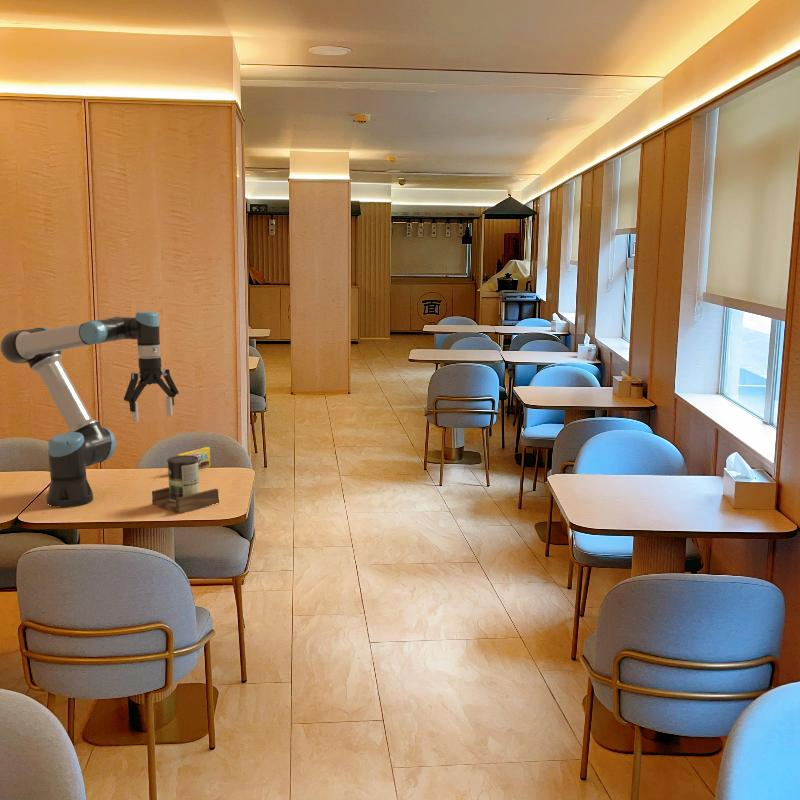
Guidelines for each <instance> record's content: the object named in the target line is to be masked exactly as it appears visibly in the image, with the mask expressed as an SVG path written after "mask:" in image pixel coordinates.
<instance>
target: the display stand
mask: <svg viewBox="0 0 800 800" xmlns="http://www.w3.org/2000/svg"><path fill="white" fill-rule="evenodd" d="M199 492H200V493H196V494H192V495H188V496H184V497H180V498H176V502H172V501H170V493H169V486H168V487H164V488H160V489H155V490H152V491H151V496H152V499H151V502H152V503H151V504H152V506H153V505H155V506H154V507H157V508H160V509H163V510H166V511H170V512H173V513H176V514H178V515H180V514H181V515H182V514H186V513H189V512H192V511H193V512H194V511H196V510H200V508H201V509H203V507H204V508H207V507H206V506H208V507H210V506H209V505H212V504H216V503H219V504H220V498H219V489H217V488H212V489H211V488H210V489H208V490H204V491H199ZM216 505H217V504H216ZM212 506H213V505H212ZM185 512H186V513H185Z"/></svg>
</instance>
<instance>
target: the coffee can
mask: <svg viewBox="0 0 800 800" xmlns="http://www.w3.org/2000/svg"><path fill="white" fill-rule="evenodd" d="M167 470H168V471H167V472H168V487H169V493H170V501H172V502H176V498H180V497H184V496H188V495H192V494H196V493H200V492H201V491H200V476H199V475H200V474H199V471H200V470H199V469H198V457H196V456H190V455H184V456H177V455H176V456H171V457H169V458H167Z"/></svg>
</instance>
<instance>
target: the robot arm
mask: <svg viewBox="0 0 800 800" xmlns="http://www.w3.org/2000/svg"><path fill="white" fill-rule="evenodd" d="M160 338H161V337H160V321H159V314H158V313H157V312H156V311H138V312H136V313H135V317H125V316H111V317H109V318H107V319H97V320H88V321H86V322H82V323H76V324H72V325H66V326H61V327H55V328H49V327H34V328H30V329H29V328H28V329H21V330H14V331H10V332H9V333H7V334H5V335H4V337H3V338H2V340H1V341H0V353H1V354H2V356H3V357H4V359H5V360H7V361H9V362H11V363H13V364H28V366H29V368H30V369H31V371H32V372H35V373H37V374H38V375H39V376H40V379H41V381H42V382H43V384H44V386H45V387H46V389H47V392H48V393H49V395H50V396H51V398H52V400H53V402H54V404H55V406H56V407H57V409H58V411H59V413H60V415H61V416H62V419H63V421H64V422H65V425H66V426H67V428H68V429H69V432H65V433H59V434H56V435H54V436H52V437H51V438H50V439H49V440H48V447H47V448H48V449H47V453H48V461H49V462H48V463H49V474H50V484H49V487H48V492H47V495H46V504H47V505H48V504H49V505H51V506H50V507H53V506H60V507H59V508H71V507H70V506H73V507H78V506H82V505H87V504H88V503H91V502H92V501H94V493H93V490H92V488H91V486H90V484H89V483H90V482H89V481H88V478H87V469H86V468H87V467H90V466H93V465H95V464H99V463H102V462H105V461H107V460H109V459H110V458H111V457H112V456H113V455H114V453H115V452H116V451H115V450H116V448H117V441H116V436H115V434H114V433H113V431H111V430H110V429H109V428H107V427H102V424H101V423H100V421H99V420H97V419H93V418H92V416H91V414H90V412H89V411H88V408H87V407H86V405H85V403H84V402H83V401H84V400H83V399H82V397H81V395H80V394H79V392H78V391H77V389H76V387H75V385H74V383H73V381H72V379H71V378H70V376H69V374H68V372H67V370H66V369H65V366H64V365H63V363H62V358H63V354H62V351H63V350H69V349H74V348H79V347H85V346H90V345H98V344H102V343H108V342H115V341H123V340H136V343H137V356H138V359H137V360H138V362H137V363H138V370H139V373H137V372H131V373H130V381H129V383H128V386H127V389H126V392H125V394H124V396H123V401H125V402H128V403H129V411H130V412H131V415H132V416H131V417H132V419H131V420H132V421H133V422H139V421H140V418H139V403H138V402H137V401H138V400H137V399H139V397H140V395H141V394H142V392H143V391H144V389H145V387H147V385H148V386H151V385H155V384H157V385H158V386H159V387H160V388H161V390H163V392H164V393H165V394H166V396H165V409H166V415H167V416H173V415H174V411H173V410H174V409H173V406H175V397H176V395H179V390H178V388H177V386H176V384H175V381H174V380H173V378H172V376H171V374H170V369H168V368H163V369H162V358H161V357H160V356H161V354H162V353H161V342H160V340H161V339H160ZM162 376H163V378H164V379H162ZM164 380H165V381H164ZM165 382H166V383H165ZM173 417H174V416H173ZM49 505H48V506H49ZM68 506H69V507H68Z"/></svg>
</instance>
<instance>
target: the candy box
mask: <svg viewBox="0 0 800 800" xmlns="http://www.w3.org/2000/svg"><path fill="white" fill-rule="evenodd" d="M184 455H190V456H196V457H198V469H201V470H205V469H207V468H211V447H209V446H205V447H202V448H198V449H193V450H190V451H185V452H182V453H178V454H177V453H176V456H184Z"/></svg>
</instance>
